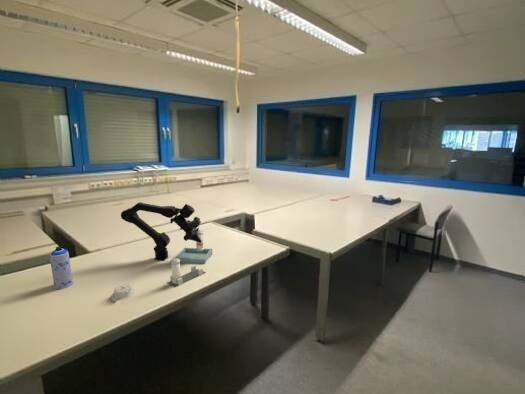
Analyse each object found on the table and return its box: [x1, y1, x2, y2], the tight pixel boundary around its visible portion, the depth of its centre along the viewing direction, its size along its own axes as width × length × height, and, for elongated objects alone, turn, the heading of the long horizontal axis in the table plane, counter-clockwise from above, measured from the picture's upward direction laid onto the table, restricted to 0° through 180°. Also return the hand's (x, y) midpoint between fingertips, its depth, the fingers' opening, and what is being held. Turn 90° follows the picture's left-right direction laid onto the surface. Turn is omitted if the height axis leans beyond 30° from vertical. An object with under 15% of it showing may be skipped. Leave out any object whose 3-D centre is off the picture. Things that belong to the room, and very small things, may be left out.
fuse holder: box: [166, 265, 207, 288], centre depth 147 cm, size 7×20×4 cm, turn 142°
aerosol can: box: [49, 245, 74, 290], centre depth 138 cm, size 8×8×20 cm
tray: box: [174, 247, 213, 264], centre depth 172 cm, size 18×16×4 cm
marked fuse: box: [195, 229, 205, 252], centre depth 170 cm, size 4×4×12 cm
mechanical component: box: [110, 284, 136, 303], centre depth 130 cm, size 10×4×10 cm
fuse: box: [170, 257, 182, 284], centre depth 141 cm, size 4×4×12 cm
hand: (201, 240), depth 170 cm, fingers closed on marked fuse, 4 cm apart
